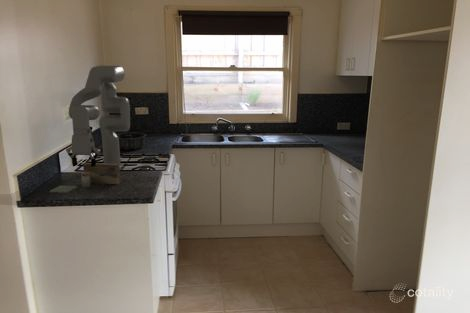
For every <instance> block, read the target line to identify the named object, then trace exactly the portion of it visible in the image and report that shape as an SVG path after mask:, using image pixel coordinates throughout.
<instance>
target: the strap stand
mask: <svg viewBox="0 0 470 313" xmlns="http://www.w3.org/2000/svg"><path fill="white" fill-rule="evenodd" d="M82 167H83V172H90V183H91V184H104V185H119V184H120V183H121V177H120V176H121V175H120V168H119V164H105V163H104V162H100V163H98V162H96V166H94V167H91V162H84V163H83V164H82ZM110 168H115V170H114V171H113V172H111V173H109V174H107V175H106V176H100V173H102V172H104V171H106V170H108V169H110Z"/></svg>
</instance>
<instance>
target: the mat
mask: <svg viewBox="0 0 470 313" xmlns="http://www.w3.org/2000/svg"><path fill="white" fill-rule="evenodd" d="M77 188H78V186H77V185H59V186H56V187H55V188H53V189H50V190H49V193H56V192H57V193H58V194H59V193H60V194H68V193H70V192H71V191H73V190H75V189H77ZM57 193H56V194H57Z"/></svg>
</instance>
